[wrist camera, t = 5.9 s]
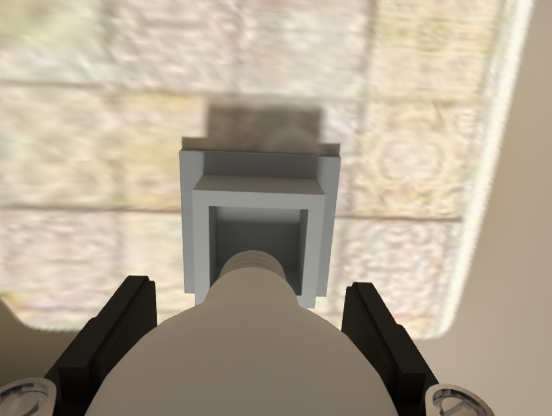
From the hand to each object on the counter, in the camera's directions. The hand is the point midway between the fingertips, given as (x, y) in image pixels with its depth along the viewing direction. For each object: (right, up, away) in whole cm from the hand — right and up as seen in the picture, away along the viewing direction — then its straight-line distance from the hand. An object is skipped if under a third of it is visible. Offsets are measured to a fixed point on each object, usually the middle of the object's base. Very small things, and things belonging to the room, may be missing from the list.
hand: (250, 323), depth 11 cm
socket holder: (-1, +2, +23) cm, 23 cm away
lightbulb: (0, +1, +4) cm, 4 cm away
